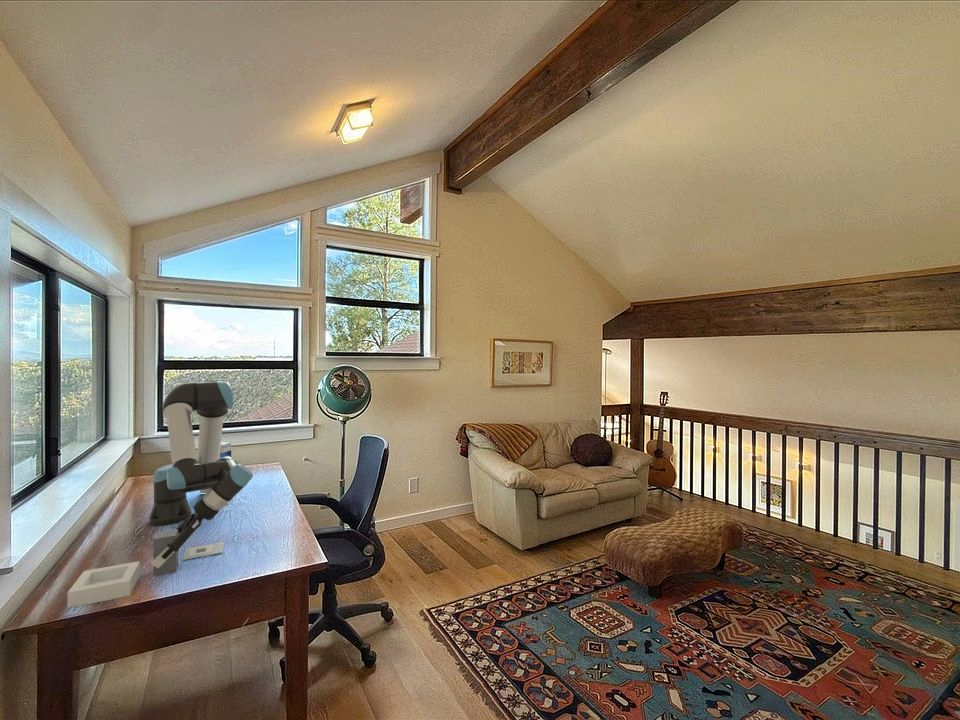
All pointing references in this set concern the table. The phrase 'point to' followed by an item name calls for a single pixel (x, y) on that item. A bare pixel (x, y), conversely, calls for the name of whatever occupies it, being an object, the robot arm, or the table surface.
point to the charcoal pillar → (159, 546)
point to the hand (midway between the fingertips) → (158, 556)
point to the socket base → (104, 584)
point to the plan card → (203, 550)
